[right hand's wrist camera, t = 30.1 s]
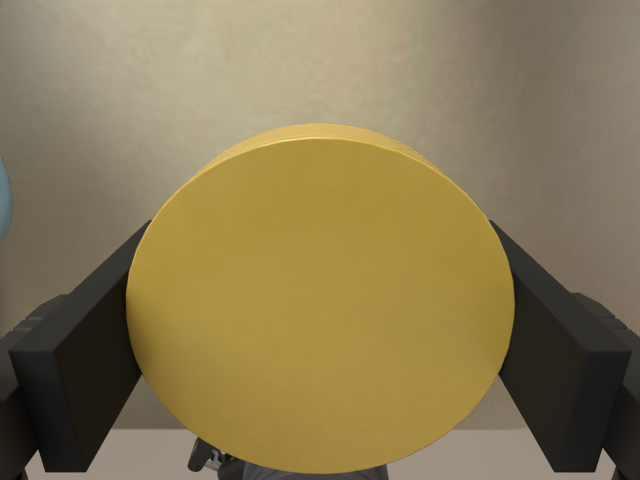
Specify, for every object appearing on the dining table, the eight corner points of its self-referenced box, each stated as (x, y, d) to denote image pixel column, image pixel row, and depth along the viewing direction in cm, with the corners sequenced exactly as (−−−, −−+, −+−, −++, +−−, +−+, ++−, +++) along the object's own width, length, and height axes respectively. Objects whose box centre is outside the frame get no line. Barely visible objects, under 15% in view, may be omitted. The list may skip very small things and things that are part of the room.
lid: (163, 403, 14) (136, 462, 12) (150, 105, 10) (108, 115, 8) (447, 424, 14) (468, 485, 12) (519, 140, 11) (565, 159, 9)
